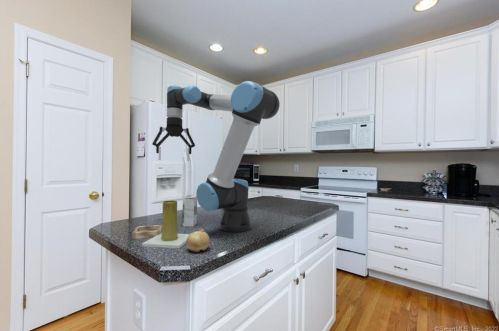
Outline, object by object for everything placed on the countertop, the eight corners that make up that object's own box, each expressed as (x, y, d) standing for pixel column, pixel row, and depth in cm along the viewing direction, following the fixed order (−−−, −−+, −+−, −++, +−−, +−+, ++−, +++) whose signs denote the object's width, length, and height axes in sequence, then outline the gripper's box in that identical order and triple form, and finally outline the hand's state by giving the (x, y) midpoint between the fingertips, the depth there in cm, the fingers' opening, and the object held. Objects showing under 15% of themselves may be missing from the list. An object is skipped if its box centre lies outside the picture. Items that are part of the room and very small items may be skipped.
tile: (193, 236, 97) (193, 234, 97) (178, 248, 83) (178, 245, 83) (161, 235, 99) (161, 232, 99) (141, 246, 85) (141, 243, 85)
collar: (162, 230, 106) (162, 224, 106) (160, 237, 96) (160, 230, 96) (136, 232, 103) (136, 226, 103) (132, 239, 93) (132, 232, 93)
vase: (158, 240, 88) (158, 202, 88) (165, 236, 94) (165, 200, 94) (174, 241, 87) (174, 202, 88) (180, 236, 94) (180, 200, 94)
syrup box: (185, 223, 119) (185, 194, 119) (197, 224, 118) (197, 195, 119) (181, 226, 113) (182, 196, 113) (194, 226, 113) (194, 196, 113)
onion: (208, 254, 78) (208, 232, 78) (183, 254, 78) (184, 232, 78) (210, 246, 86) (210, 226, 86) (188, 246, 85) (188, 226, 86)
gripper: (199, 121, 126) (198, 161, 125) (148, 117, 118) (147, 160, 118) (200, 118, 118) (200, 160, 118) (146, 114, 111) (146, 159, 111)
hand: (174, 160), depth 118 cm, fingers open, 13 cm apart
